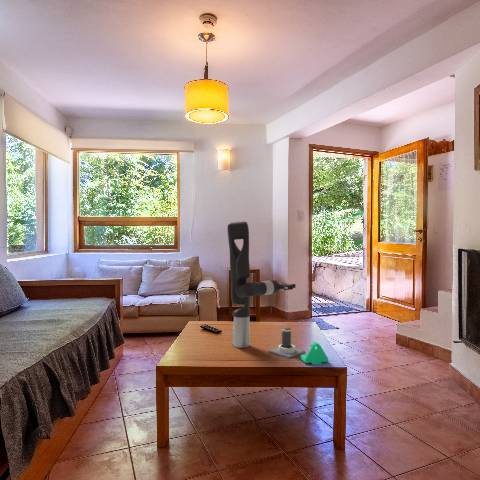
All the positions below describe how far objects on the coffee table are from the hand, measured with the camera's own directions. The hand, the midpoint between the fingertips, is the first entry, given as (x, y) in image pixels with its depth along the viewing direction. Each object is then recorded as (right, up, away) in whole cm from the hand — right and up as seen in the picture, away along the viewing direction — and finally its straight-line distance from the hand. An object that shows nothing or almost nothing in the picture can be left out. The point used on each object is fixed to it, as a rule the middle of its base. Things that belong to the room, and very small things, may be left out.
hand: (289, 285), depth 213 cm
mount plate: (-2, -36, -7) cm, 37 cm away
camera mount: (+10, -37, -21) cm, 43 cm away
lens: (-2, -35, -7) cm, 36 cm away
